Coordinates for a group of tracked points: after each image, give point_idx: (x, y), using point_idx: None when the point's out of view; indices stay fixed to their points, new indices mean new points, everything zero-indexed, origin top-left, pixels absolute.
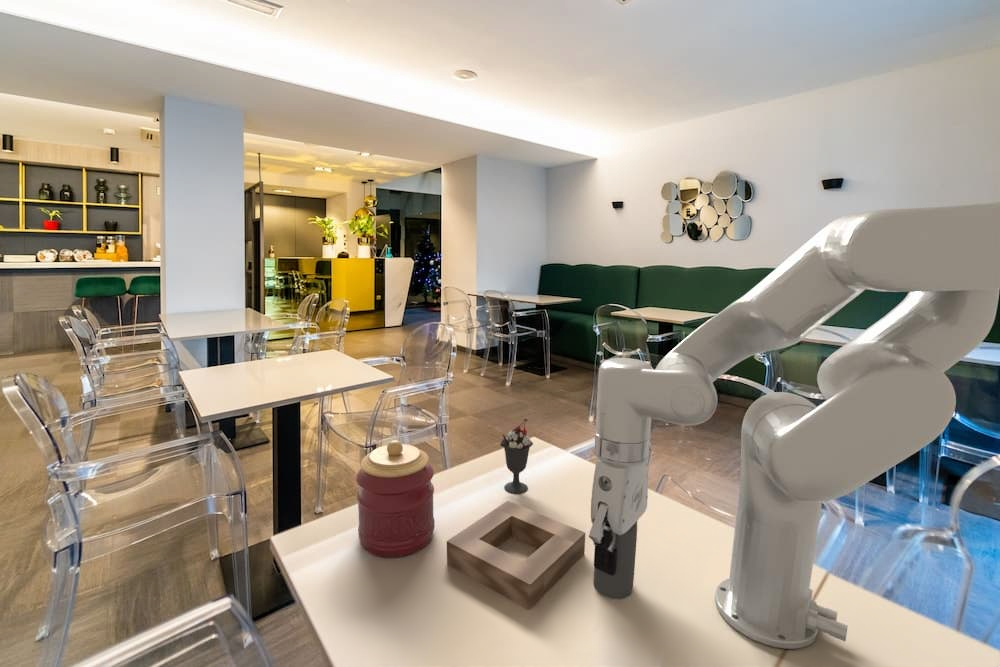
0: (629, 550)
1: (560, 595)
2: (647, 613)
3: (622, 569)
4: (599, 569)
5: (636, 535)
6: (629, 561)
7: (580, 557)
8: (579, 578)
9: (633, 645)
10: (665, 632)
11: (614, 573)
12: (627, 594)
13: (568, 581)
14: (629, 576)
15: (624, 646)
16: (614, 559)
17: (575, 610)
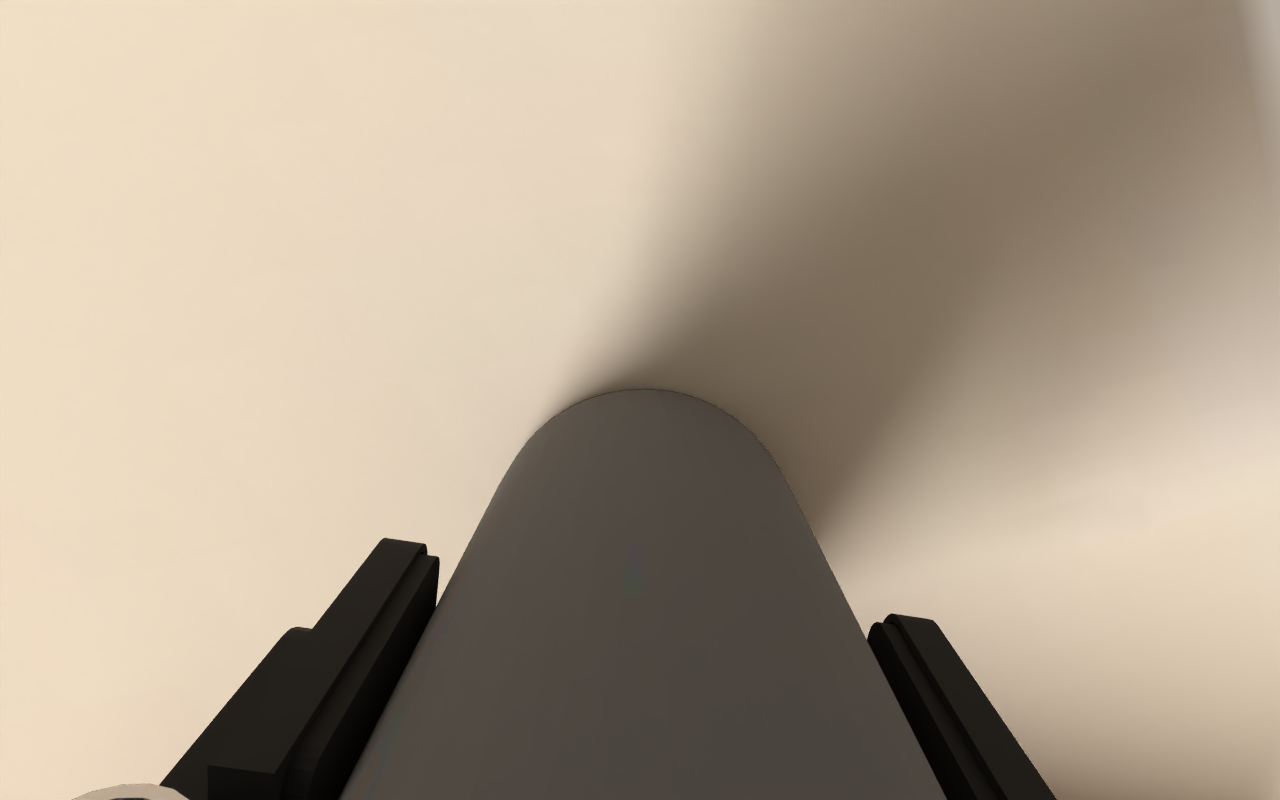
0: (835, 676)
1: None
2: (821, 227)
3: (830, 573)
4: None
5: (621, 772)
6: (781, 561)
7: None
8: None
9: (1191, 247)
10: (972, 49)
11: (931, 626)
12: (723, 413)
13: None
14: (733, 467)
15: (1220, 302)
16: (1023, 766)
17: (1002, 665)
